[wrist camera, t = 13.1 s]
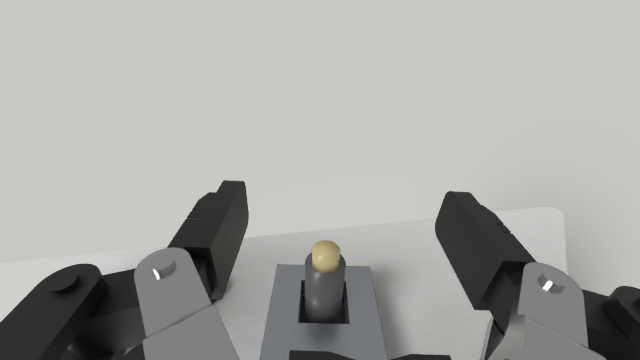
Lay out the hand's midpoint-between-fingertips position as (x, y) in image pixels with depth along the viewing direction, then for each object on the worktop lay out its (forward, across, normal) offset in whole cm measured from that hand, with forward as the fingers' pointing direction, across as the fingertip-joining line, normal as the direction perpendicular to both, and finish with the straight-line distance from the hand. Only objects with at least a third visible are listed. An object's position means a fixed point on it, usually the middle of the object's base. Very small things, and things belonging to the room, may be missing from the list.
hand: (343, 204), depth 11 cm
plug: (+12, -1, +27) cm, 29 cm away
